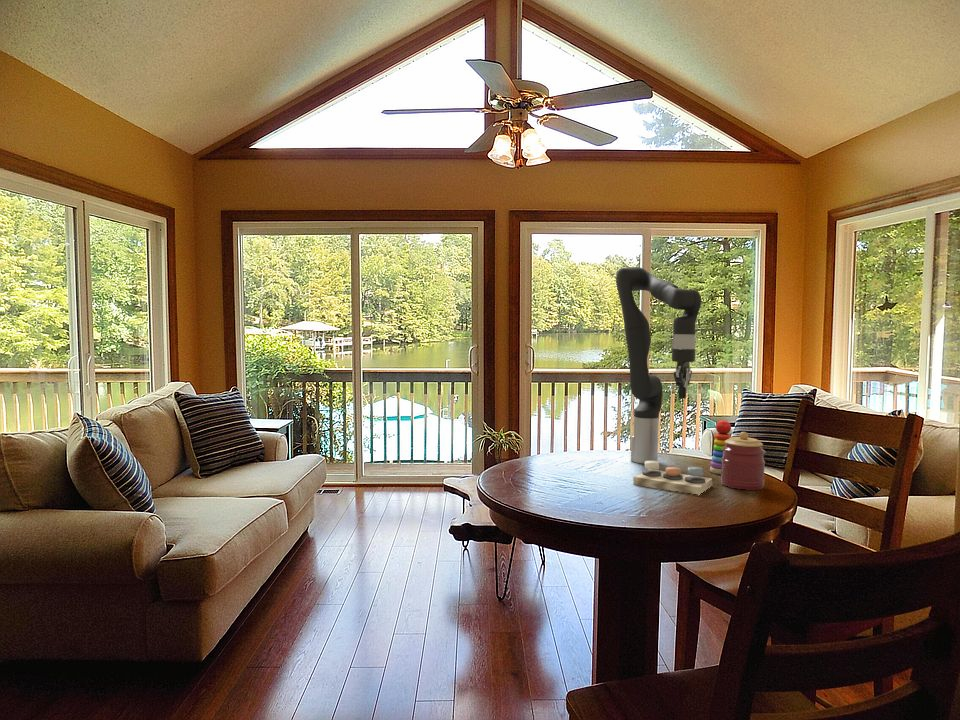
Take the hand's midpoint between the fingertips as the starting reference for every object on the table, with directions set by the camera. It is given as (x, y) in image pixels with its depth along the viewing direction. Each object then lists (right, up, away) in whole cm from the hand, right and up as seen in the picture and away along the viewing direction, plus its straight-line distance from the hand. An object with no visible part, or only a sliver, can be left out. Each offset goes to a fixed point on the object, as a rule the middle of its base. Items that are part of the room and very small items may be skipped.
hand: (682, 398), depth 201 cm
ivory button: (-13, -23, -7) cm, 27 cm away
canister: (+16, -28, -11) cm, 34 cm away
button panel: (-7, -27, -11) cm, 30 cm away
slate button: (-1, -23, -16) cm, 28 cm away
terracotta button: (-7, -24, -11) cm, 27 cm away
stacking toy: (+17, -27, +7) cm, 33 cm away
